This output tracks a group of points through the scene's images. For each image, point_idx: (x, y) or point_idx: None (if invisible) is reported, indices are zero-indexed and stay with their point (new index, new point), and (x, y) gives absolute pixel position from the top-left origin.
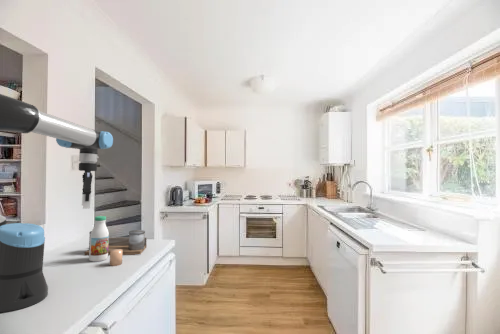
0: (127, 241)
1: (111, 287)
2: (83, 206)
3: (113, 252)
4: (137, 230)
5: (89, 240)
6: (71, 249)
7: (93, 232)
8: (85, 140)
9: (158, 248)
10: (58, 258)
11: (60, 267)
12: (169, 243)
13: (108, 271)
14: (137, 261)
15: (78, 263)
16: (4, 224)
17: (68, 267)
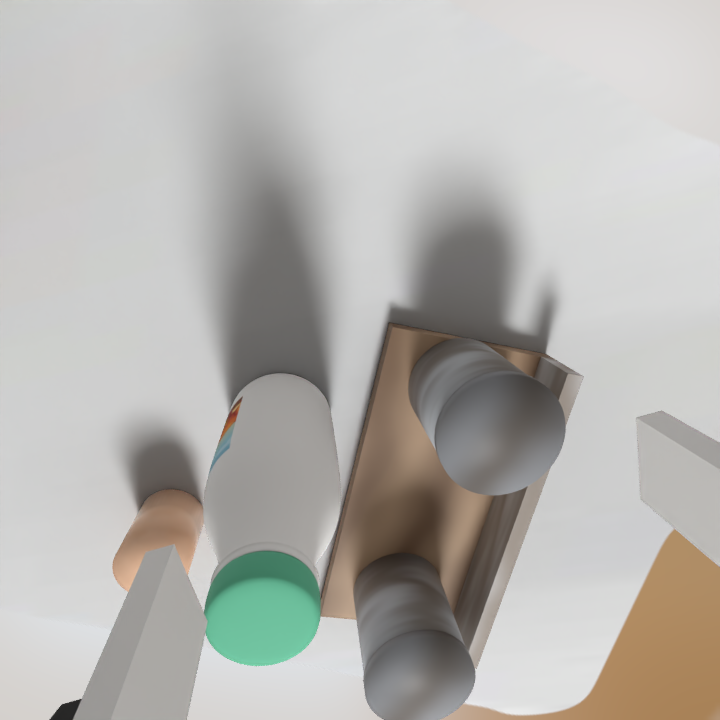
0: (488, 554)
1: None
2: (135, 583)
3: (114, 558)
4: (456, 681)
5: (463, 360)
6: (565, 205)
7: (218, 485)
8: None
9: None
10: (362, 178)
11: (161, 245)
12: (502, 709)
13: (49, 504)
14: None
15: (222, 327)
16: None
17: (153, 291)
